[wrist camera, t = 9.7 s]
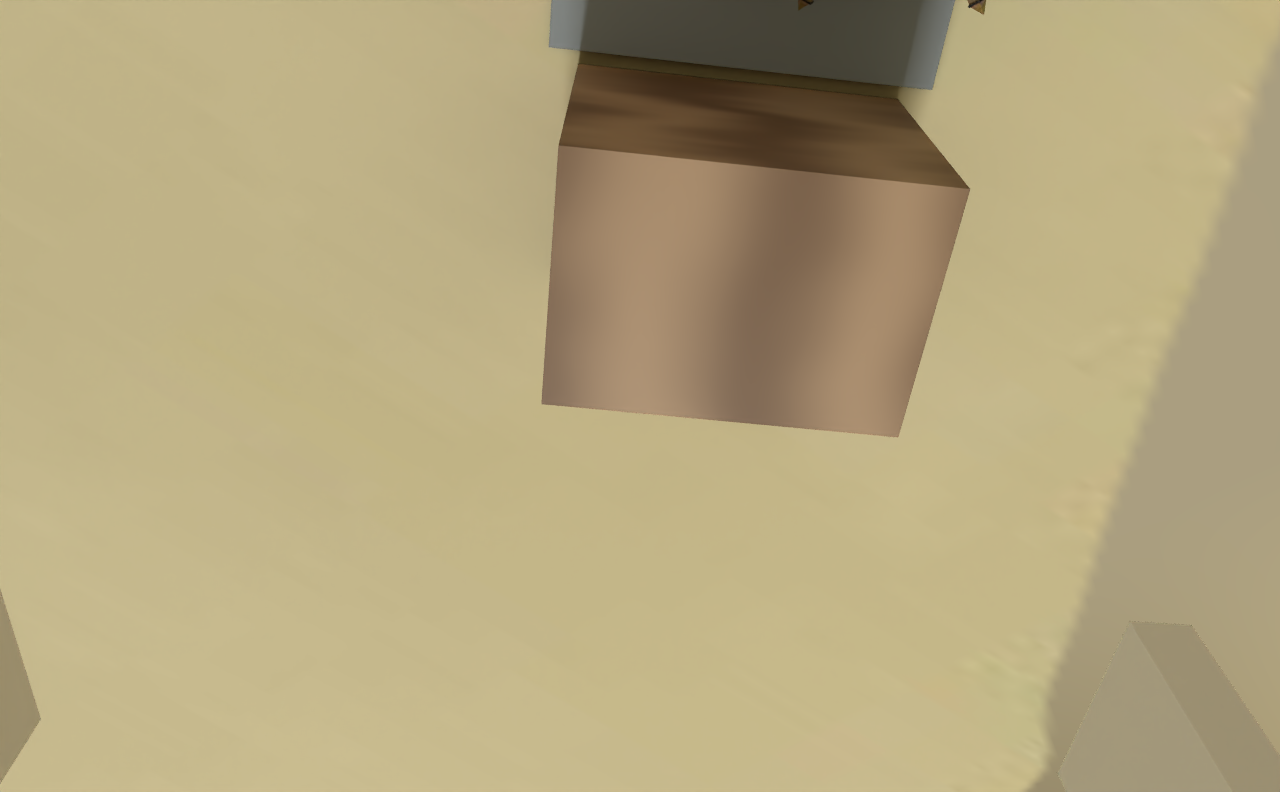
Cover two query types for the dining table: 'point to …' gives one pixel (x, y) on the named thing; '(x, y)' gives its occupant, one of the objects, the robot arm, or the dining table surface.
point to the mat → (767, 35)
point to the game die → (977, 3)
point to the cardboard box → (744, 252)
